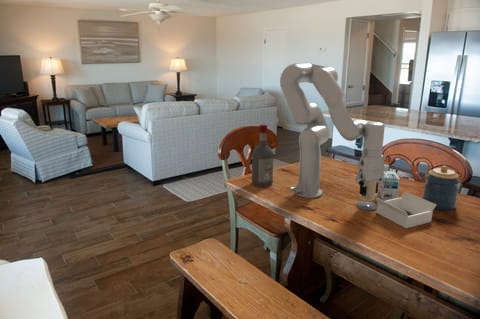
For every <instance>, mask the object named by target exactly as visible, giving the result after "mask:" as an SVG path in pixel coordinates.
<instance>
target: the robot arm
mask: <svg viewBox="0 0 480 319" xmlns="http://www.w3.org/2000/svg"><path fill="white" fill-rule="evenodd" d="M338 78H339V75H338V72H337V71H336V69H335V68H333V67H331V66H325V65H319V64H316V63H315V64H314V63H310V62H302V63H301V62H300V63H299V62H295V63H292V64H289V65H287V66H286V67H285V68H284V69H283V71H282V72H281V74H280V78H279V84H280V90H281V92H282V94H283V96H284V99H285V100H286V104H287V106H288V109H289V111H290V114H291V116H292V119H293V121H294V122H295V124H296V125H298V126H305V125H306V127H305V128H304V129H302V131H301V132H300V133H299V136H298V146H299V168H298V169H299V170H298V172H299V173H298V183H296V185H295V186H291V187H289V192H291V193H292V192H294V194H295V195H297V196H298V197H302V198H306V199H316V198H320V197H321V196H323V190H322V189H320V184H321V183H320V181H321V180H320V179H321V165H322V164H321V163H322V151H321V145H322V144H323V145H324V144H325V143H326V142H327V141H328V140H329V139H330V130H329V127H328V124H327V121H326V119H325V117H324V113H323V112H322V109H321V108H320V106H319V105H318V104H316V103H314V102H311V101H308V99H307V98H306V94H305V92H304V91H303V89H302V88H301V86H300V84H301V83H309V84H312V85H313V86H314V88H315V89H316V91H317V92H318V93H319V95H320V97H321V98H322V100H323V101H324V103H325V104H326V106H327V108H328V112H329V117H330V119H331V122H332V124H333V125H334V127H335V129H336V130H337V132H338V133H339V135H340V136H341V137H342V138H343V139H344V140H345V141H348V142H353V141H356V140H358V139H360V138H363V143H362V151H361V152H360V153H361V154H362V155H361V156H360V160H359V163H358V170H357V175H356V176H355V177H354V180H355V182H357V184H358V186H359V194H360V195H363V196H366V189H367V187H365V186H366V183H367V181H372V180H377V183H376V193H375V194H378V193H379V185H380V181H381V180H382V178H383V177H384V176H385V174H384V171H385V160H384V155H383V149H384V137H385V124H384V123H382V122H379V121H367V120H363V119H357V118H356V119H352V117H351V116H350V114H349V112H348V110H347V105H346V102H347V101H346V100H347V96H346V94H345V91H344V90H343V89H342V88H341V86H340V84H339V83H338ZM363 180H364V183H363Z"/></svg>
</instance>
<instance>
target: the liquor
mask: <svg viewBox="0 0 480 319" xmlns="http://www.w3.org/2000/svg"><path fill="white" fill-rule="evenodd" d="M267 132H268V125H267V124H259V143H258V145H257V146H256V147H255V148H254V149H253V151H252V154H251V155H252V156H251V168H252V169H251V183H252V185H254V186H256V187H257V188H267V187H270V186H272V185H273V182H274V154H275V153H274V151H273V150H272V148H271V147H270V146H269V145H268V141H267V138H268V137H267V135H268V133H267Z"/></svg>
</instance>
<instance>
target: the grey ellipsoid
mask: <svg viewBox="0 0 480 319" xmlns="http://www.w3.org/2000/svg"><path fill="white" fill-rule="evenodd" d="M356 207H357V208H359V209H360V210H363V211H368V212H369V211H376V210H377V204H376V203H374V202H371V201H369V200H368V201H366V200H361V201H358V202H357V203H356Z"/></svg>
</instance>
